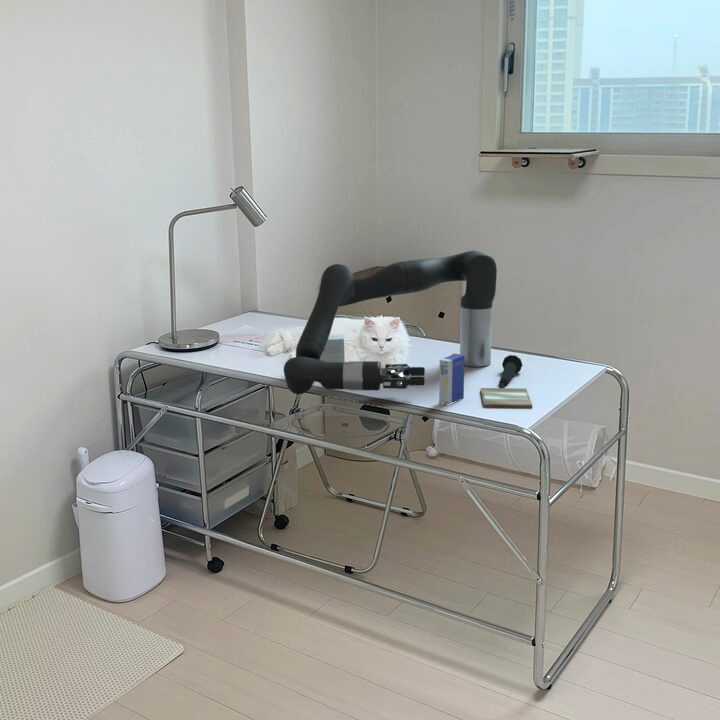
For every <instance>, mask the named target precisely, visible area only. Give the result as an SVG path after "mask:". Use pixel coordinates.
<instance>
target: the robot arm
mask: <svg viewBox="0 0 720 720" xmlns="http://www.w3.org/2000/svg"><path fill="white" fill-rule="evenodd" d="M497 269H498V268H497V264H496V260H495V258H493V256H492V255H490V254H488V253H486V252H483V251H478V250H468V251H464V252H460V253H457V254H453V255H449V256H446V257H445V256H444V257H438V258H435V257H434V258H425V259H424V258H423V259H421V258H420V259H412V260H411V259H410V260H405V261H397V262H394V263H391V264H389V265H386V266H385V267H382V268H381V269H379V270H376V272H374V273H372V274H370V275H366V276H364V277H359V278H355V277H354V273H353V271H352V270H351V269H350V268H349V266H346V265H345V264H341V263H334V264H331V265H329V266H328V267H326V268H325V270H324V271H323V272H322V275H321V279H320V284H319V285H320V286H319V292H318V296H317V298H316V301H315V303H314V306H313V309H312V311H311V314H310V316H309V317H308V320H307V321H306V324H305V326H304V328H303V331H302V333H301V335H300V337H299V339H298V342H297V345H296V347H295V357H292V358H289V359H288V360H287V361H286V362H285V363H284V365H283V375H284V379H285V383H286V386H287V388H288V390H289V391H290V392H291V393H293V394H295V395H303V394H305V393H307V392H308V391H310V389H311V388H312V387H313V385H314V384H315V383H314V382H316V383H319V384H320V385H321V387H323V388H324V389H326V390H348V391H379V390H381V385H382V387H383V389H391V390H392V389H393V390H395V389H396V390H397V389H399V390H400V389H402V390H406V389H407V388H408V387H410V386H417V387H418V386H419V387H420V386H425V385H426V384H425V383H426V381H425V380H426V378H425V374H426V371H425V370H426V368H425V367H424V366H410V365H409V364H407V363H399V364H397V363H394V364H393V363H386V364H385V366H384V368H383V367H382V368H381V362H380V361H377V360H373V361H369V360H368V361H367V360H366V361H363V360H361V361H360V360H358V361H356V360H355V361H353V360H352V361H345V362H325V361H322V360H320V357H321V355H322V353H323V350H324V348H325V346H326V343H327V340H328V338H329V335H331V331H332V328H333V324H334V320H335V317H336V315H337V312H338V309H339V307H345V306H349V305H354V304H357V303H361V302H364V301H367V300H368V301H369V300H373V299H379V298H385V297H391V296H397V295H398V296H399V295H407V294H413V293H419V292H422V291H426V290H428V289H431V288H433V287H435V286H438V285H440V284H443V283H450V282H466V283H465V293H464V295H462V296H461V297H460V323H459V324H460V326H459V327H460V328H459V331H460V333H459V354H461V355H465V358H464V367H465V366H466V367H472V368H473V367H485V366H487V367H488V366H489V365H491V362H492V361H491V359H492V335H493V334H492V333H493V332H492V331H493V330H492V329H493V326H492V325H493V303H494V300H495V296H496V290H497V275H498V273H497V272H498V270H497Z"/></svg>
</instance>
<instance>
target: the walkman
mask: <svg viewBox="0 0 720 720" xmlns="http://www.w3.org/2000/svg"><path fill="white" fill-rule="evenodd" d="M464 358H465V355H461V354H460V353H457V352H455V353H452V354H451V355H449V356H446V357H443V358H441V359H439V383H438V385H439V386H438V387H439V394H438V399H439V400H438V404H439V403H443V404H447V405H448V404H450V403H452V402H454V403H456V402H458V401H460V400H459V399H461V400H462V398H463V399H464V398H465V397H464V395H465V394H464V392H465V365H464ZM457 400H458V401H457ZM455 401H456V402H455ZM443 404H442V405H443ZM452 404H453V403H452ZM447 405H446V406H447ZM450 405H451V404H450ZM448 406H449V405H448Z"/></svg>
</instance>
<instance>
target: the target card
mask: <svg viewBox="0 0 720 720" xmlns="http://www.w3.org/2000/svg"><path fill="white" fill-rule="evenodd" d="M480 395H481V400H482V402H483V407H484V408H495V409H496V408H502V409H504V408H506V409H507V408H508V409H509V408H510V409H515V408H517V409H532V408H533V402H532V400H531V397H530V395H529V392H528V389H527V388H518V387H517V388H511V387H510V388H508V387H507V388H505V387H503V388H500V387H498V388H497V387H493V388H492V387H481V388H480Z"/></svg>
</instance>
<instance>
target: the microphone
mask: <svg viewBox="0 0 720 720" xmlns="http://www.w3.org/2000/svg"><path fill="white" fill-rule="evenodd" d="M501 365H502V368H503V369H502V370H503V371H502V374H501V376H500V379H499V388H505V387H507V386H508V384H509V383H510V381H511V379H512V378H513V376H514V375H515V374H518V373H519V372H521V370H522V368H523V362H522V359H521V358H520V357H519V356H517V355H513V354H509V355H507V356H506V357H503V361H502V364H501Z"/></svg>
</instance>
